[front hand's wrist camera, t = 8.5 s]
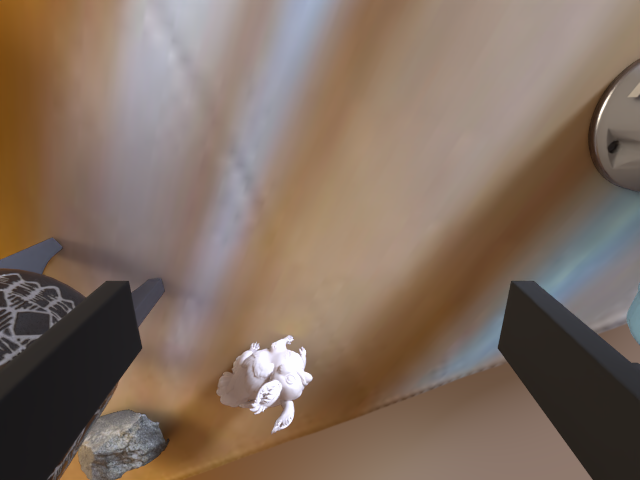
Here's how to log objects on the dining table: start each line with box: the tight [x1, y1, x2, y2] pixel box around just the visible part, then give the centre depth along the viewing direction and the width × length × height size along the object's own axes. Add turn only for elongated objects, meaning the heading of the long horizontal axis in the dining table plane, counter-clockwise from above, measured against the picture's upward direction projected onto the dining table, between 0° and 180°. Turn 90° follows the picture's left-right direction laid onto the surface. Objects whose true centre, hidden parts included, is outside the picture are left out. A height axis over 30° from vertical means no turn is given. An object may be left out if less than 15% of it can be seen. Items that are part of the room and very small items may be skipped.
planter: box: [0, 238, 165, 480], centre depth 36 cm, size 20×20×26 cm
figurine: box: [216, 335, 312, 434], centre depth 47 cm, size 8×15×13 cm, turn 126°
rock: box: [78, 410, 169, 480], centre depth 54 cm, size 13×9×6 cm, turn 111°
